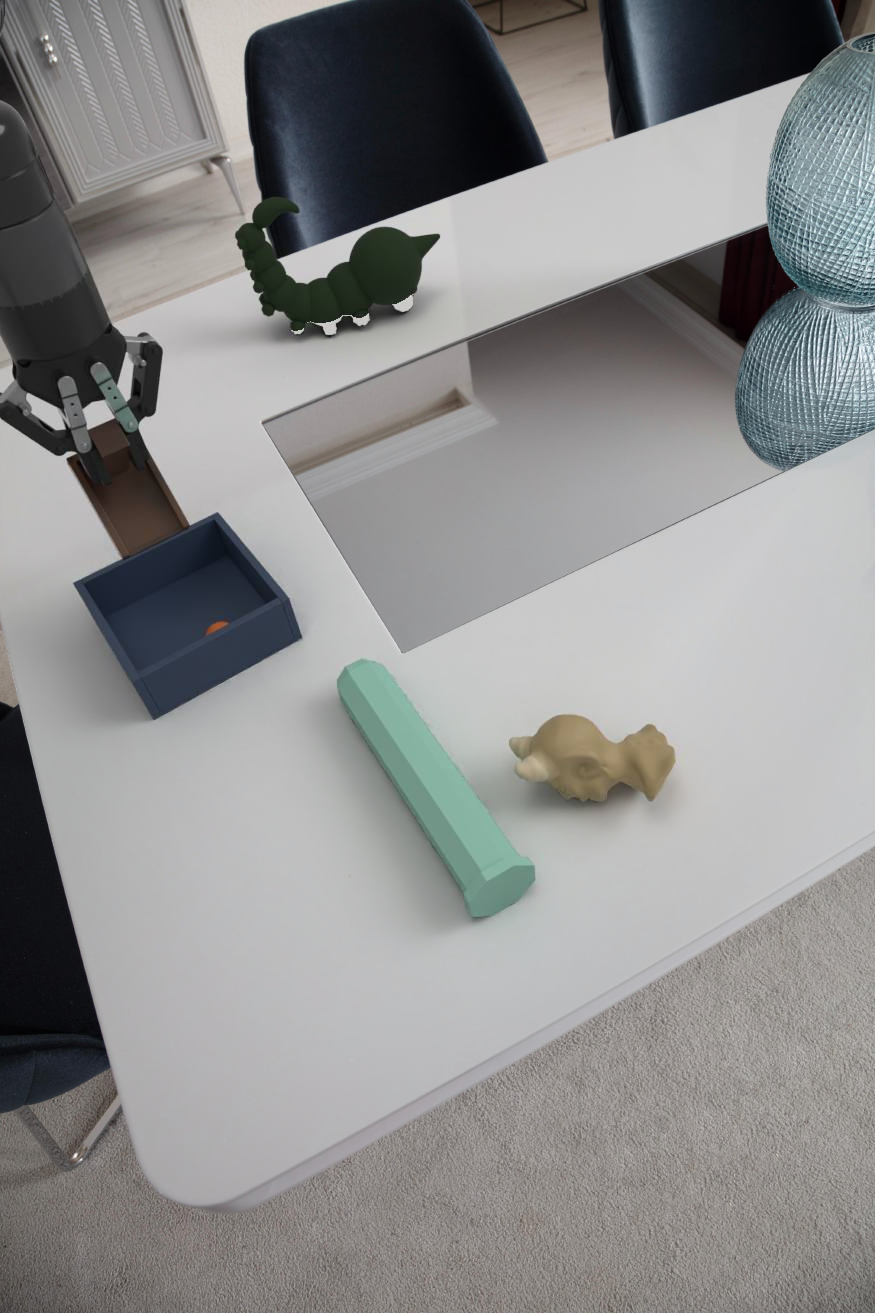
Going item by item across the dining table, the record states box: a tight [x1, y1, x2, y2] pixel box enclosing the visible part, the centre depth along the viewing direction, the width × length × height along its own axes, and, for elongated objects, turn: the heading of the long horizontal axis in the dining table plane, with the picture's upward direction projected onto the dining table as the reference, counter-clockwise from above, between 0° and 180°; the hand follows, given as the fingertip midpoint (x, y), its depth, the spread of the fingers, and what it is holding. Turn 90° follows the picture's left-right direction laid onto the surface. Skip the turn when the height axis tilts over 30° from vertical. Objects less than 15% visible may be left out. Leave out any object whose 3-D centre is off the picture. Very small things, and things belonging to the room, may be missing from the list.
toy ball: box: [206, 622, 229, 636], centre depth 87 cm, size 3×3×3 cm
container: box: [336, 658, 536, 918], centre depth 75 cm, size 6×6×25 cm
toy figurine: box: [234, 196, 441, 331], centre depth 118 cm, size 9×19×25 cm
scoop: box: [66, 417, 191, 561], centre depth 78 cm, size 10×6×9 cm
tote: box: [72, 511, 303, 720], centre depth 89 cm, size 16×16×6 cm
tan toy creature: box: [508, 713, 676, 803], centre depth 73 cm, size 8×7×12 cm
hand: (122, 471), depth 77 cm, fingers closed on scoop, 2 cm apart
